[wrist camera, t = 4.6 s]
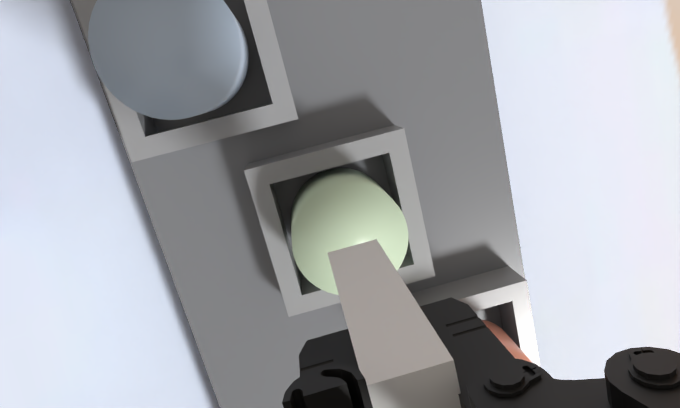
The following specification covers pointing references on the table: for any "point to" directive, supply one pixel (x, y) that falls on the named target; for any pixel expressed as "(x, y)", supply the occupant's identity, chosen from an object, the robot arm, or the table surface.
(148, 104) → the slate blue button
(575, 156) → the table surface
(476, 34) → the panel
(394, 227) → the sage button
